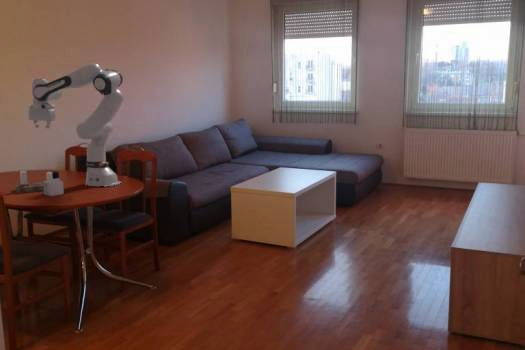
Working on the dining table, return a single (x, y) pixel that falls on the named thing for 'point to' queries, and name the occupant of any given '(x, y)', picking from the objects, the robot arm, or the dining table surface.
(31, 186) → the mixing board
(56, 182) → the container
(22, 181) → the fader
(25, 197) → the dining table surface
